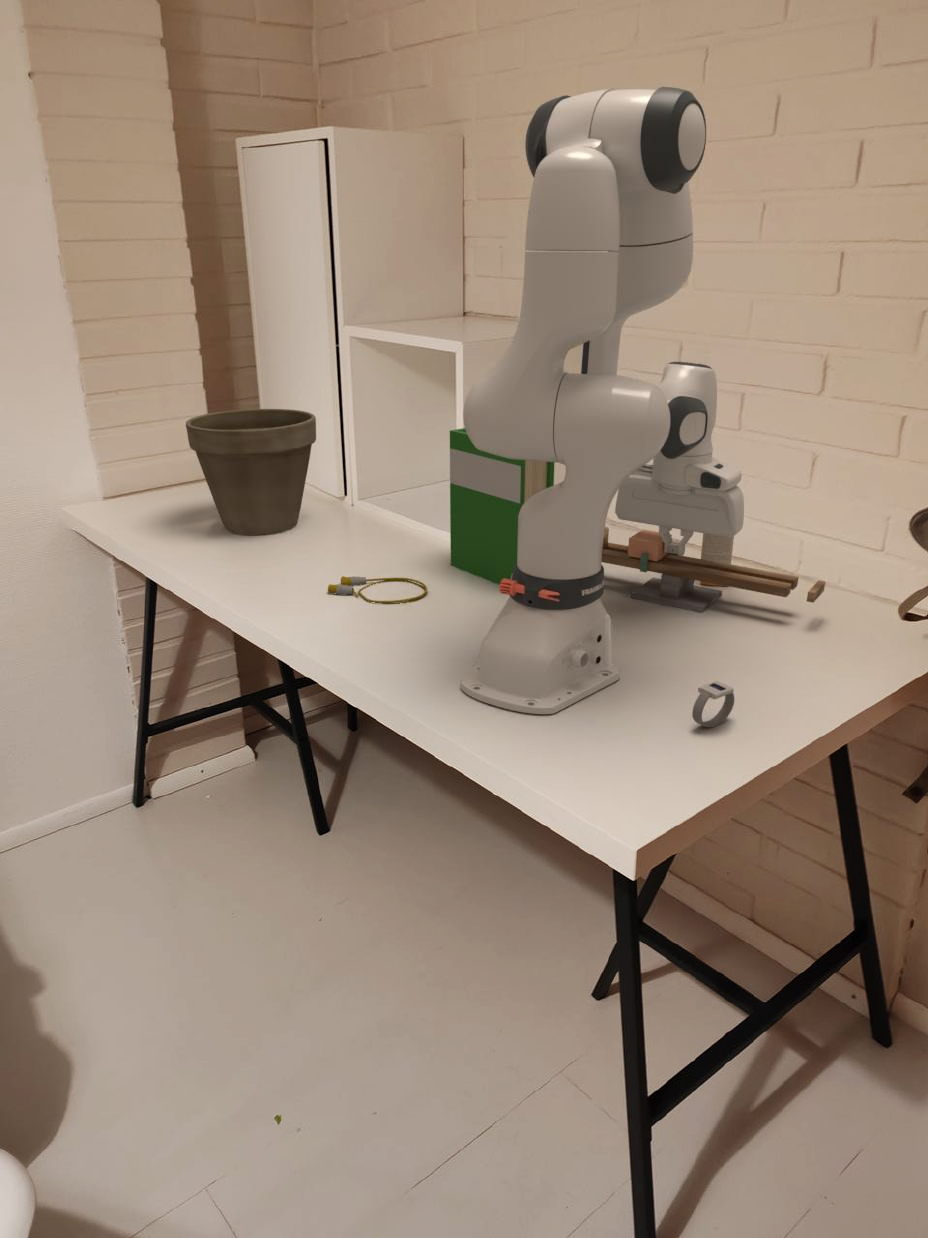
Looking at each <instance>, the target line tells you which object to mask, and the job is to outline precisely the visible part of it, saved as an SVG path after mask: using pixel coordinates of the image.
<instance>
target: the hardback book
mask: <svg viewBox="0 0 928 1238" xmlns="http://www.w3.org/2000/svg"><path fill="white" fill-rule="evenodd" d="M449 475H450V476H449V496H450V497H449V498H450V499H449V503H450V505H449V507H450V508H449V512H450V518H449V520H450V522H449V523H450V526H449V527H450V537H449V538H450V566H451V567H453V568H456V569H459V570H461V571H463V572H465V573H468V574H471V575H473V576H476V577H478V578H481V579H484V580H485V581H489V582H490V583H491V582H492V583H494V584H497V585H499V586H500V583H502V582H501V580H502V579H503V578H506V579H509V580H511V575H512V573H513V570H514V566H515V564H516V563H517V547H518V515H519V512H520V509H521V507H522V505H523V504H524V503H525V501H526V500H527V499H528V498H530V497H531V496H532V495H534V494H536V493H538V492H540V491H542V490H544V489H546V488H549V487H551V486H554V484H555V462H544V461H530V460H516V459H508V458H505V457H501V456H497V455H494V454H490V453H487V452H484V451H481V450H478V449H477V448H476V447H475V446H474V445H473V443H472V442H471V440H470V439H469V437H468V435H467V432H466V429H465V427H464V428H458V429H451V430H449Z"/></svg>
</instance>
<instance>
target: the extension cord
mask: <svg viewBox="0 0 928 1238" xmlns="http://www.w3.org/2000/svg"><path fill="white" fill-rule="evenodd" d="M387 581H388V582H405V581H407V582H406V583H409V582H410V584H412V583H413V585H415V586H417V585H418V586H417V587H420V588H422V589H423V590H424V592H423V593H422V594H419V595H418V596H413V597H409V598H403V599H396V600H374V599H369V598H367V597H366V596H365V595H364V594H362V591H364V590H365V589H367V588H368V587H371V586H373V584H374V585H377V584H376V583H378V584H381V582H382V583H387ZM367 582H372V583H369V584H367ZM341 584H342V585H341ZM360 584H363V585H365V586H363V587H362V588H360V589H358V590H359V591H357V592H356V591H355V588H354V586H353V585H357V586H361V585H360ZM366 584H367V585H366ZM370 585H371V586H370ZM366 587H367V588H366ZM364 588H365V589H364ZM360 590H362V591H360ZM328 593H336V594H351V595H352V593H353V595H355V597H356V596H357V597H362V598H363V599H364V600H365V601H367V602H368V601H369V602H368V603H371V602H375V603H382V604H381V605H400V603H403V604H408V603H407V602H409V603H412V601H413V602H416V601H419V600H420V598H421V599H422V598H425V597H426V596H427V595H428V593H429V592H428V587H427V585H426V584H425V583H424V582H422V581H421V580H417V579H413V578H409V577H382V578H380V577H379V578H369V579H367V578H366V576H347V577H346V576H344V575H342V576H341V577H340V584H328V587H327V594H328ZM357 593H358V594H360V595H361V596H360V595H358V594H357ZM336 594H335V595H336ZM357 597H356V598H357ZM418 599H419V600H418ZM375 603H374V604H375Z"/></svg>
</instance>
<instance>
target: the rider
mask: <svg viewBox="0 0 928 1238" xmlns="http://www.w3.org/2000/svg"><path fill="white" fill-rule="evenodd" d="M670 535H671V538H673V537H672V536H673V535H672V534H671V533H670ZM627 546H628V556H630V557H636V558H641V553H648V560H652V561H658V560H662V558H663V557H664V556H666V555H667V554H665V553H664V546H665V543H664V542H663V540H662V538H661V536H660V534H659V531H653V530H647V529H642V530H640V531H639V532H637V533H636V534H635V533H634V534H633V535H632V536H630V537H629V538H628V545H627Z"/></svg>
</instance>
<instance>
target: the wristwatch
mask: <svg viewBox="0 0 928 1238" xmlns="http://www.w3.org/2000/svg"><path fill="white" fill-rule="evenodd" d="M697 692H698V693H699V694H698V696H697V698H696V699H695V702H694V704H693V708H692V719H693V721H694V722H695V723H696V724H697V725H700V726H702V727H705V728H715V727H717V726H719V725H721V724H722V723H723V722H724V721H725V720H726V719H727V718H728V717H729V715H730V714H731V712H732V711H733V708H734V706H735V695H734V687H732V686H730V685H729V684H725V683H723V682H721V681H719V680H715V681H713V682H710V683H708V684H703V685H702V686H699V687H698V688H697ZM722 697H724V702H723V704H722V706H721V708H720V710H719V711H718V713H716V715H714V717H712V718H711V719H709V720H707V721H703V711H704V708H705V706H706V704H707V702H708V700H709V699H711V700H718V699H720V698H722Z"/></svg>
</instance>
